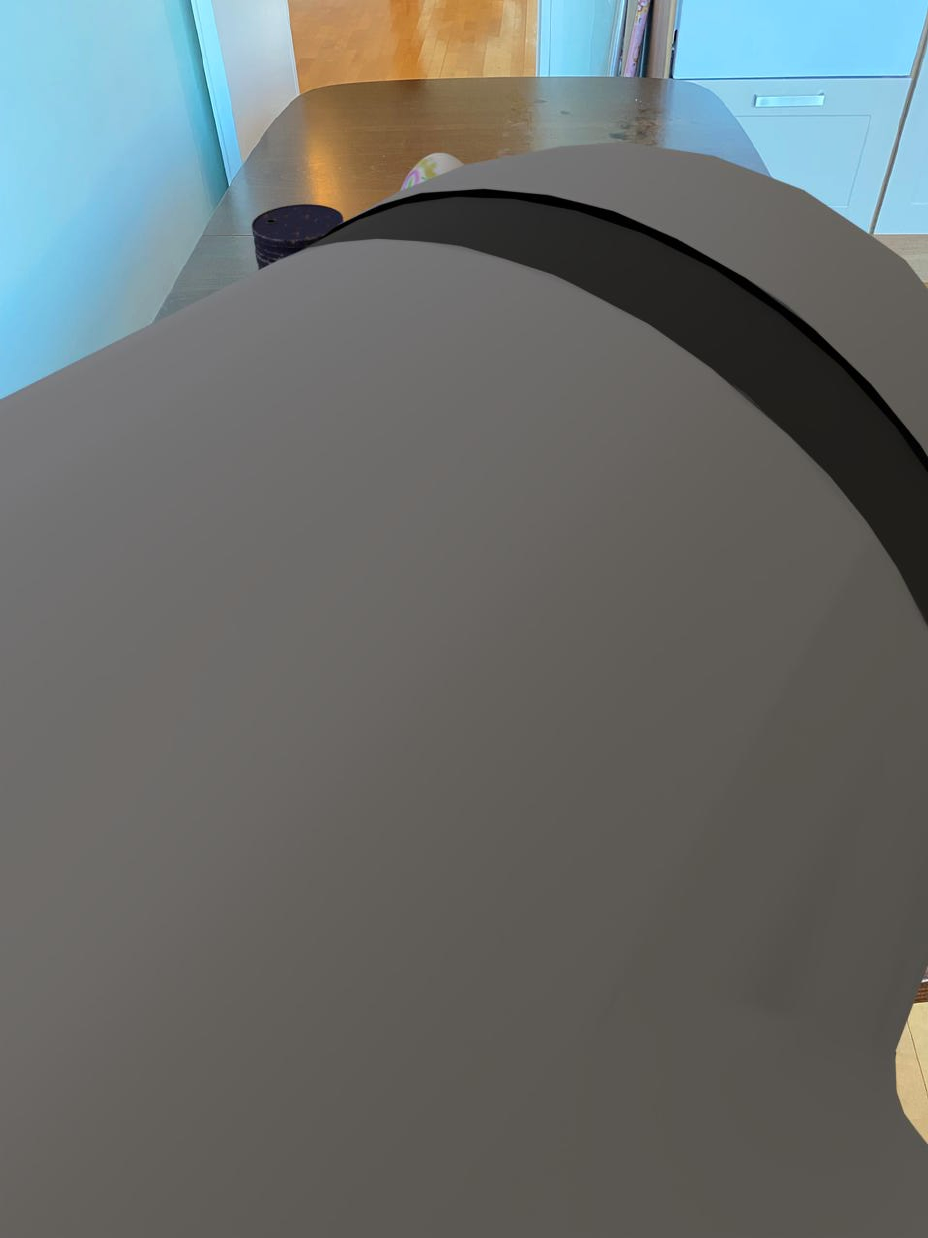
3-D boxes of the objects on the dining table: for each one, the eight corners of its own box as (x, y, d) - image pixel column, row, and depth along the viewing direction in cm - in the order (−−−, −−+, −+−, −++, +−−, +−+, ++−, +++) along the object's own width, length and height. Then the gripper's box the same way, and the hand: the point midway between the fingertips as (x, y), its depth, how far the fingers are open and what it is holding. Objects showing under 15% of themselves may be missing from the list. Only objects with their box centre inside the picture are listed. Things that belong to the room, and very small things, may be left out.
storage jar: (366, 332, 113) (352, 204, 102) (351, 374, 106) (335, 241, 95) (284, 330, 114) (263, 203, 103) (264, 372, 107) (238, 239, 96)
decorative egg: (383, 268, 126) (372, 147, 115) (466, 249, 129) (463, 131, 119) (418, 305, 117) (411, 179, 107) (507, 284, 121) (507, 160, 111)
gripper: (89, 810, 55) (458, 680, 62) (128, 1011, 47) (552, 836, 53) (46, 728, 50) (454, 596, 57) (81, 938, 41) (557, 753, 48)
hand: (501, 712), depth 55 cm, fingers closed
